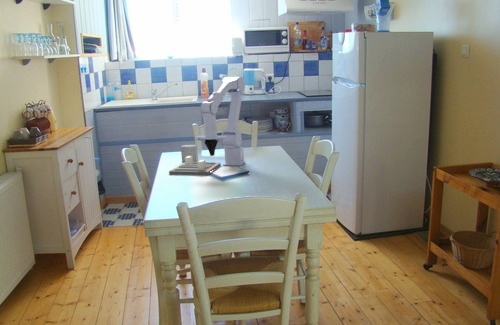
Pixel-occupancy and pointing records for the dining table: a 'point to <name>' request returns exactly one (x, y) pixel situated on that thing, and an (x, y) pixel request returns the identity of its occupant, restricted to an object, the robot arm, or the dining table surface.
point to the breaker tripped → (201, 164)
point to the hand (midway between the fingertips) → (212, 155)
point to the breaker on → (188, 160)
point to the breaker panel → (194, 169)
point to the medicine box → (189, 152)
